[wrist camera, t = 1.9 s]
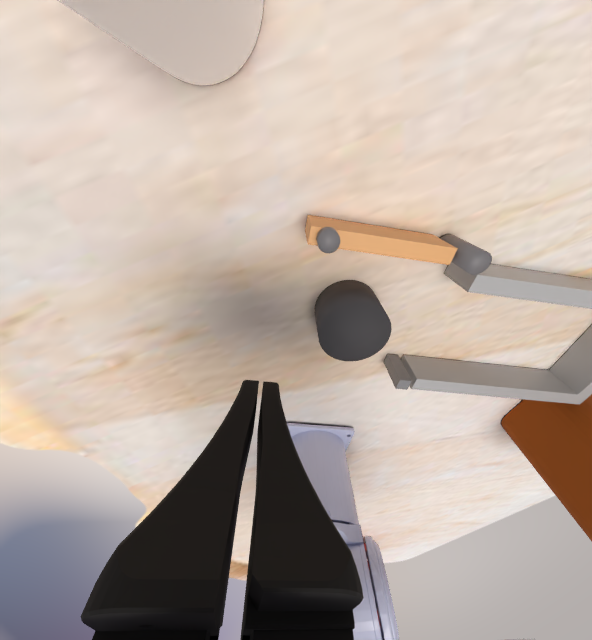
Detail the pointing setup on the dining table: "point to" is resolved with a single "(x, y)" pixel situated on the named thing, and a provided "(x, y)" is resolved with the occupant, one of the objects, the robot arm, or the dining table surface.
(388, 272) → the dining table surface
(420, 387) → the grey frame
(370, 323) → the dark grey cylinder
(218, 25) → the can
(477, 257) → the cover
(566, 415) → the grey and orange block
